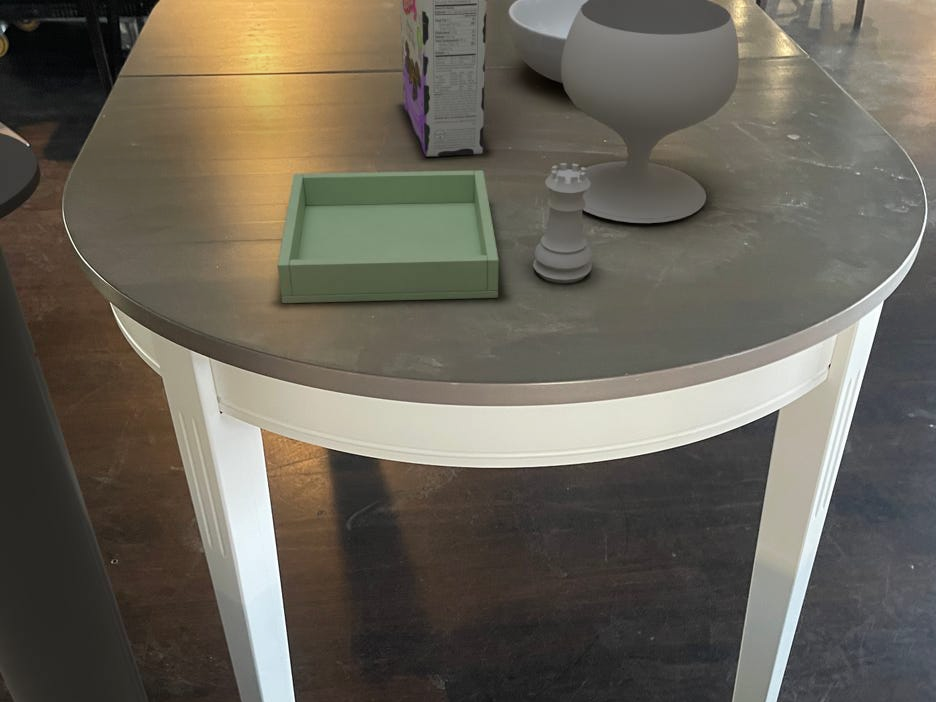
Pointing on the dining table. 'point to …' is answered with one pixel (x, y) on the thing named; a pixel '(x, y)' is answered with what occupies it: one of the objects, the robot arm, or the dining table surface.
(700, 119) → the chalice
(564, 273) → the rook chess piece
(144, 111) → the dining table surface
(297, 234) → the tray
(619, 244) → the dining table surface
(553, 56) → the serving bowl
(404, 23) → the candy box
